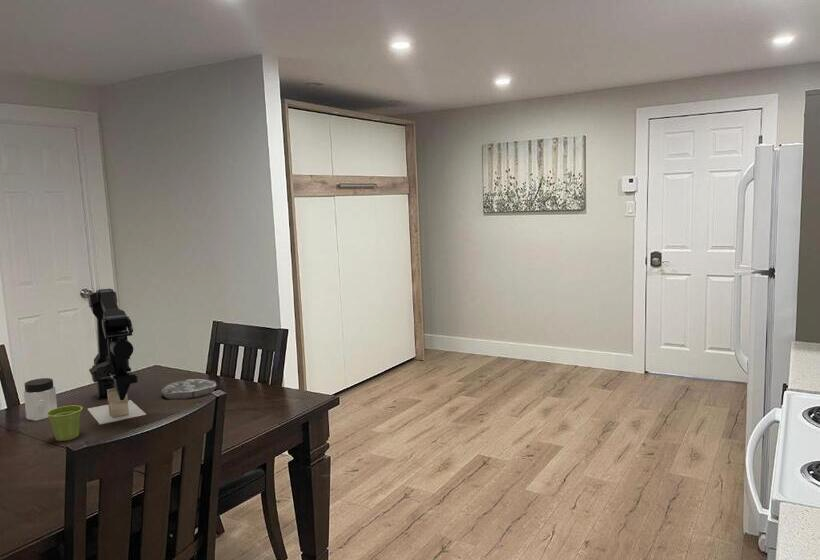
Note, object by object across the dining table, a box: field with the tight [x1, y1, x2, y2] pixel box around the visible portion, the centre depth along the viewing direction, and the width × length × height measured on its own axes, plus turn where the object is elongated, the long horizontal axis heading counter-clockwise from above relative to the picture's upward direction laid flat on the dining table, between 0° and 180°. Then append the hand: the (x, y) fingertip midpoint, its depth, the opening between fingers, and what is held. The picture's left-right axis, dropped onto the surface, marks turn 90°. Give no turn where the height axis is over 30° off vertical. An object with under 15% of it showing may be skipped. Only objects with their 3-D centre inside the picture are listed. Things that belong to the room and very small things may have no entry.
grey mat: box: [87, 399, 147, 425], centre depth 205 cm, size 20×14×1 cm
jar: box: [23, 377, 58, 422], centre depth 202 cm, size 9×8×12 cm
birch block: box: [107, 387, 129, 418], centre depth 202 cm, size 5×5×8 cm
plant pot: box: [47, 405, 84, 442], centre depth 183 cm, size 9×9×9 cm
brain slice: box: [160, 378, 217, 400], centre depth 226 cm, size 20×17×3 cm
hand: (122, 399), depth 197 cm, fingers closed
